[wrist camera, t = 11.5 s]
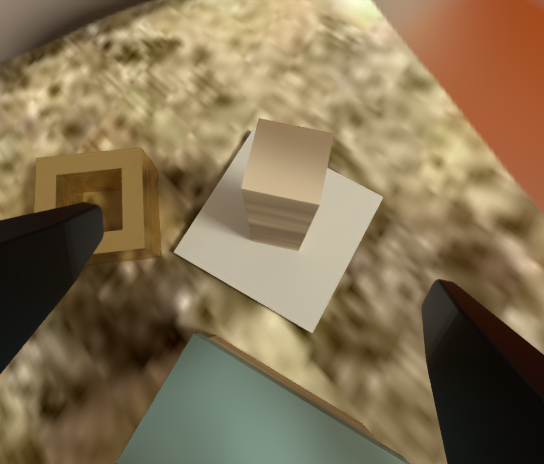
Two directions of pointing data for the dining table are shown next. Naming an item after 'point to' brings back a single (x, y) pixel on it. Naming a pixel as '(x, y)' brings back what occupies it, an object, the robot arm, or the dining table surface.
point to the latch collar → (105, 176)
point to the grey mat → (275, 260)
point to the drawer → (244, 417)
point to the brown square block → (284, 182)
